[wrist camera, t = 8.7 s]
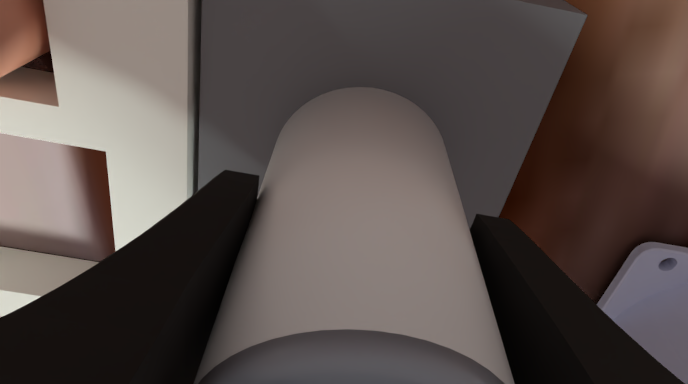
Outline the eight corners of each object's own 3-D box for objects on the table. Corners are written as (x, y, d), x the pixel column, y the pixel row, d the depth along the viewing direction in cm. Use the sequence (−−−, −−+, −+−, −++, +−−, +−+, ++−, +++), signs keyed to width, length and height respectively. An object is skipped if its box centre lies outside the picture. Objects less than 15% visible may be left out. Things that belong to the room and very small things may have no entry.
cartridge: (473, 111, 10) (614, 417, 4) (416, 251, 12) (460, 583, 7) (288, 67, 10) (178, 337, 4) (262, 219, 12) (163, 541, 6)
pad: (563, -1, 11) (587, 15, 10) (458, 256, 16) (466, 289, 14) (222, -71, 11) (203, -64, 10) (210, 214, 15) (196, 245, 14)
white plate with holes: (212, -73, 11) (188, -65, 9) (201, 303, 17) (185, 344, 16) (-243, -167, 10) (-347, -175, 9) (-79, 259, 17) (-123, 297, 15)
